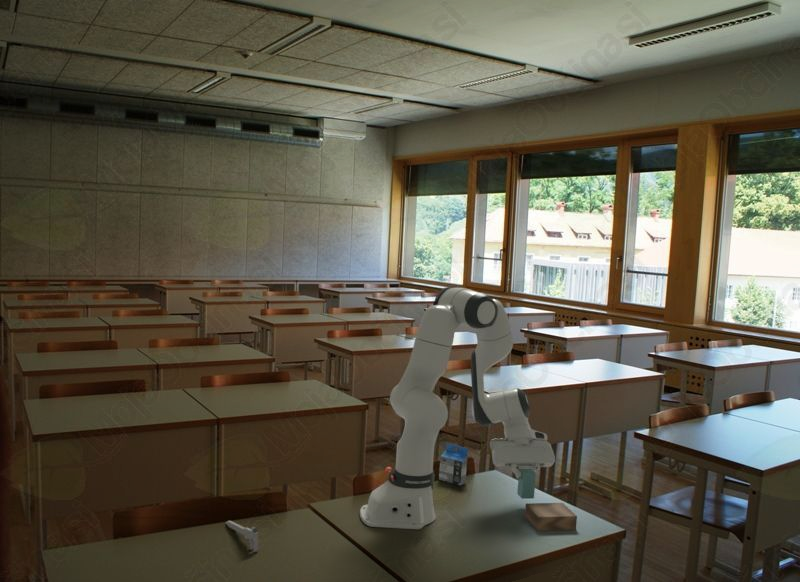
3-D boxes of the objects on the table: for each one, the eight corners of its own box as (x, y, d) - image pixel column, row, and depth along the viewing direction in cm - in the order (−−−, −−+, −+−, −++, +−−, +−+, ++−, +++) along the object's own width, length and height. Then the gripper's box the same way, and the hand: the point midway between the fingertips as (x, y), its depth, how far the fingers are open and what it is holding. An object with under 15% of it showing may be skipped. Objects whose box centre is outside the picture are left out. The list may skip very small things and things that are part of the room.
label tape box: (438, 480, 234) (440, 445, 233) (444, 477, 237) (446, 442, 236) (460, 486, 229) (462, 450, 228) (466, 483, 232) (468, 448, 231)
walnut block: (537, 530, 197) (538, 517, 196) (525, 516, 207) (525, 503, 206) (576, 529, 199) (576, 516, 199) (561, 515, 209) (562, 502, 209)
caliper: (258, 553, 174) (259, 529, 174) (254, 554, 174) (255, 530, 173) (228, 523, 191) (229, 502, 190) (224, 524, 190) (225, 502, 190)
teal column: (521, 498, 211) (523, 473, 211) (517, 493, 215) (519, 469, 215) (533, 498, 212) (535, 473, 211) (529, 493, 216) (531, 469, 215)
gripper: (491, 433, 217) (499, 473, 208) (551, 434, 221) (561, 474, 212) (486, 442, 222) (493, 482, 213) (544, 443, 226) (554, 482, 217)
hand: (527, 478), depth 213 cm, fingers closed on teal column, 4 cm apart
